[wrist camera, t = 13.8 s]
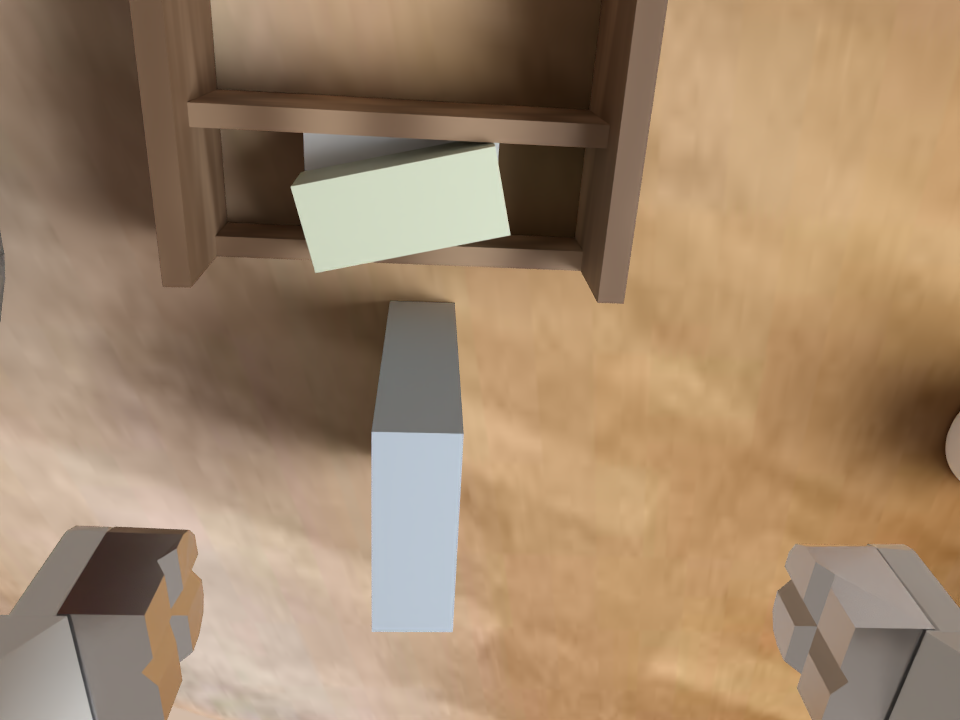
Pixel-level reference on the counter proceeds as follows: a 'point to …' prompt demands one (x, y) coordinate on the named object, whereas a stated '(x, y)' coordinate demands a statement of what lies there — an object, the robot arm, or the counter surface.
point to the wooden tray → (205, 110)
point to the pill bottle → (954, 447)
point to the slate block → (416, 470)
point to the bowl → (1, 274)
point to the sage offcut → (401, 204)
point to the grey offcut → (357, 148)
